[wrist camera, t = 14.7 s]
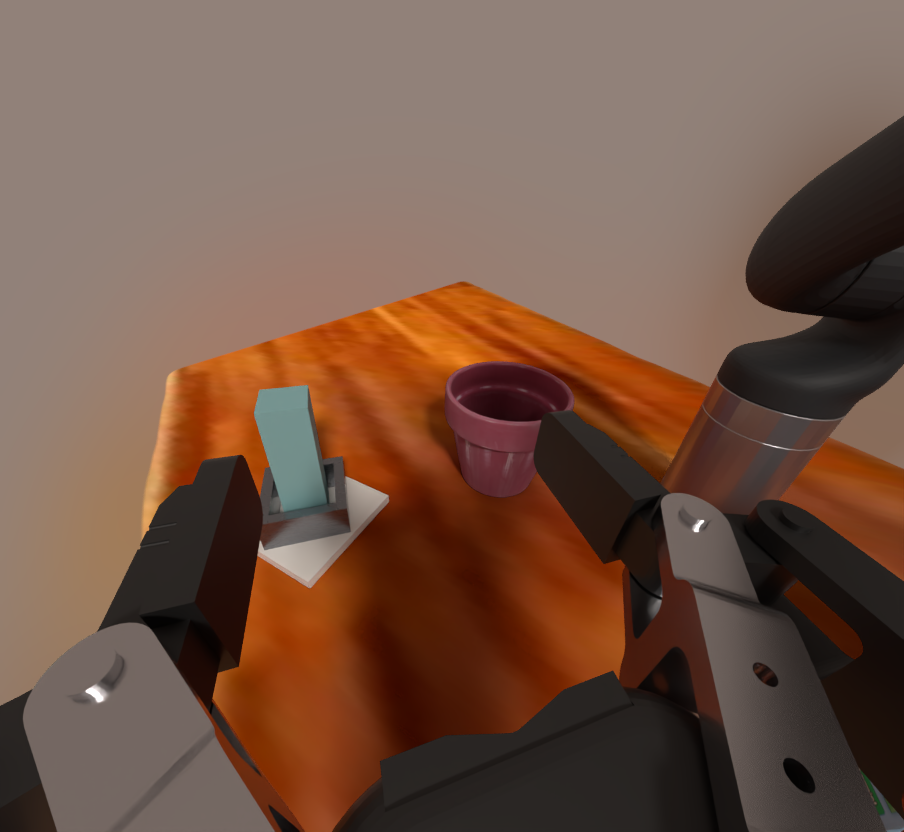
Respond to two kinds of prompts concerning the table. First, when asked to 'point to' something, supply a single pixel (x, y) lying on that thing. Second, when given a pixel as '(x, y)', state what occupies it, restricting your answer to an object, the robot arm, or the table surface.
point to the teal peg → (292, 446)
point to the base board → (320, 554)
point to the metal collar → (305, 512)
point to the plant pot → (501, 421)
